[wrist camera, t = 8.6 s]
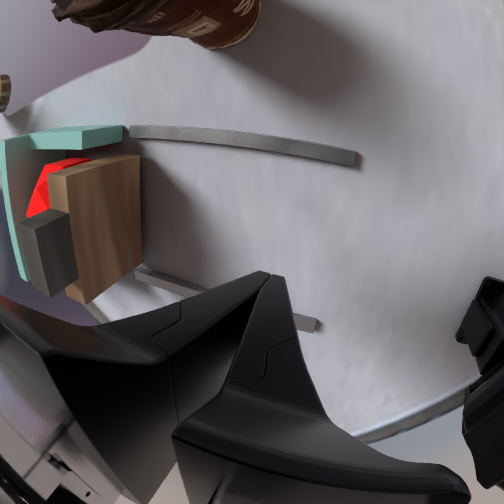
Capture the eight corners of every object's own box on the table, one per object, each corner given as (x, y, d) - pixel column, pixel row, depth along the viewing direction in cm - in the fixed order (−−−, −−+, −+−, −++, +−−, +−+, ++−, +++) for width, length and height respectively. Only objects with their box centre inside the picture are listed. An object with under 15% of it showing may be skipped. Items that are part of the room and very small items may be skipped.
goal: (123, 125, 23) (52, 136, 16) (128, 271, 30) (77, 311, 23) (58, 127, 26) (-1, 140, 19) (68, 249, 32) (21, 277, 26)
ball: (66, 188, 29) (13, 210, 22) (96, 139, 25) (33, 153, 18) (102, 244, 30) (51, 275, 23) (139, 202, 26) (78, 231, 19)
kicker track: (356, 151, 18) (356, 152, 18) (314, 327, 25) (313, 333, 25) (135, 125, 23) (129, 125, 22) (139, 275, 30) (135, 279, 29)
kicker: (139, 155, 23) (29, 189, 13) (143, 261, 27) (59, 326, 18) (119, 154, 23) (12, 186, 14) (124, 255, 28) (41, 314, 18)
